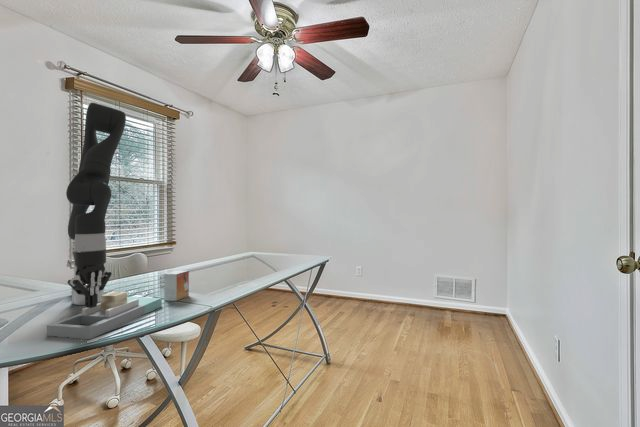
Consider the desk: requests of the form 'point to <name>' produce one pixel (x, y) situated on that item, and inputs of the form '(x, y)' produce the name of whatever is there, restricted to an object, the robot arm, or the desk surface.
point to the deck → (102, 318)
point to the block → (113, 299)
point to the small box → (176, 285)
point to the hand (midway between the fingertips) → (91, 307)
